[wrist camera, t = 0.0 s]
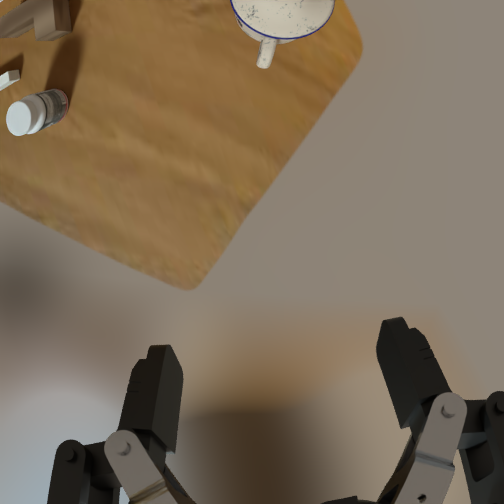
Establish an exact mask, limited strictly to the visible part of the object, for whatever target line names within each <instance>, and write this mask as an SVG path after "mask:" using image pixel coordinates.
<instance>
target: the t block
mask: <svg viewBox="0 0 504 504" xmlns="http://www.w3.org/2000/svg"><path fill="white" fill-rule="evenodd" d="M32 28H35V37H36V41H54V40H56V39H58V38H60V37H62V36H64V35H66V34H68V33H71V32H72V28H71V20H70V11H69V0H27V1H25V2H24V3H22V4H20V5H19V6H17V7H16V8H14V9H13V10H11V11H10V12H8V13H7V14H5V15H4V16H2V17H1V18H0V38H11V37H19V36H20V35H22V34H24V33H25V32H27V31H29V30H30V29H32Z"/></svg>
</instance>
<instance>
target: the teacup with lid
mask: <svg viewBox="0 0 504 504" xmlns="http://www.w3.org/2000/svg"><path fill="white" fill-rule="evenodd" d="M230 2H231V5H232V8H233V10H234V12H235V17H236V20H237V22H238V24H239V26H240V27H241V29H242V30H243V31H244V32H245V33H246V34H247V35H249V36H250V37H252V38H254V39H255V40H258V41H260V42H261V44H260V48H259V52H258V57H257V66H258V67H260V68H265V69H266V68H268V67H269V66H270V64H271V61H272V58H273V55H274V51H275V47H276V44H283V43H288V42H291V41H293V40H295V39H298V38H302V37H305V36H308V35H310V34H312V33H314V32H316V31H318V30H319V29H320V28H321V27H323V26H324V25H325V24H326V22H327V21H328V20H329V18H330V16H331V14H332V12H333V9H334V3H335V0H230Z"/></svg>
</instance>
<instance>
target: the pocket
mask: <svg viewBox="0 0 504 504" xmlns="http://www.w3.org/2000/svg"><path fill="white" fill-rule="evenodd" d="M1 1H3V0H0V2H1ZM19 79H20V75H19V70H13V71H8V72H6V73H4V74H3V75H1V76H0V91H1V90H2V89H4V88H6V87H7V86H9V85H11V84H12V83H14V82H16V81H17V80H19Z"/></svg>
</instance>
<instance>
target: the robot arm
mask: <svg viewBox="0 0 504 504" xmlns="http://www.w3.org/2000/svg"><path fill="white" fill-rule="evenodd" d="M376 353H377V359H378V362H379V365H380V367H381V370H382V373H383V376H384V379H385V382H386V385H387V388H388V391H389V394H390V397H391V399H392V402H393V406H394V409H395V412H396V415H397V418H398V421H399V425H400V428H401V429H402V428H406V427H409V426H410V429H411V432H412V433H411V435H410V437H409V440H408V442H407V444H406V447H405V449H404V451H403V454H402V456H401V458H400V460H399V462H398V465H397V467H396V469H395V471H394V473H393V475H392V476H391V478H390V479H389V481H388V483H387V484H386V486H385V487H384V489H383V491H382V493H381V494H380V496H379V498H378V500H377V502H372V501H368V500H358V499H357V496H352V497H348V498H343V499H338V500H332V501H327V502H324V503H322V504H442V503H443V501H444V498H445V496H446V493H447V491H448V488H449V486H450V483H451V480H452V478H453V475H454V471H455V466H454V465H453V459H454V456H455V453H456V450H457V449H459V453H460V456H461V460H462V464H463V468H464V472H465V476H466V481H467V485H468V490H469V494H470V499H471V504H504V392H503V391H497V392H494V393H492V394H491V395H490V396H489V397H488V398H487V400H464V399H462V397H460V396H459V395H457V394H455V393H453V392H452V391H451V390H450V388H449V386H448V383H447V381H446V379H445V377H444V375H443V373H442V370H441V368H440V366H439V364H438V362H437V360H436V358H435V357H434V354H433V351H432V349H430V345H429V343H428V341H427V339H426V338H425V336H424V335H423V334H422V333H421V332H420V331H419V330H417V329H416V328H411V329H409V328H408V326H407V324H406V322H405V320H404V319H403V317H398V318H392V319H387V320H383V322H382V324H381V329H380V333H379V337H378V341H377V346H376ZM182 388H183V371H182V368H181V366H180V364H179V361H178V359H177V357H176V355H175V353H174V351H173V349H172V347H171V345H151V346H150V347H149V350H148V354H147V358H146V359H139V361H138V362H137V363H136V365H135V366H134V368H133V369H132V372H131V376H130V380H129V384H128V388H127V393H126V396H125V400H124V405H123V409H122V413H121V418H120V422H119V426H118V429H117V431H116V432H114V433H112V434H111V435H110V436H109V437H108V439H107V440H106V441H103V442H99V443H94V444H89V445H82V444H81V443H80V442H78V441H76V440H66V441H64V442H63V443H61V444H60V445H59V447H58V449H57V451H56V455H55V460H54V465H53V470H52V476H51V482H50V488H49V494H48V501H47V504H119V495H120V487H123V488H124V490H125V492H126V494H127V495H128V497H129V500H130V501H129V503H128V504H197V503H196V502H195V501H194V500H193V499H192V498H191V497H190V496H189V495H188V493H187V492H186V491H185V490H184V488H183V487H182V486H181V484H180V483H179V482H178V480H177V479H176V477H175V476H174V475H173V473H172V472H171V471H170V469H169V468H168V466H167V465H166V463H165V458H166V454H175V450H176V440H177V430H178V421H179V411H180V403H181V396H182Z"/></svg>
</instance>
